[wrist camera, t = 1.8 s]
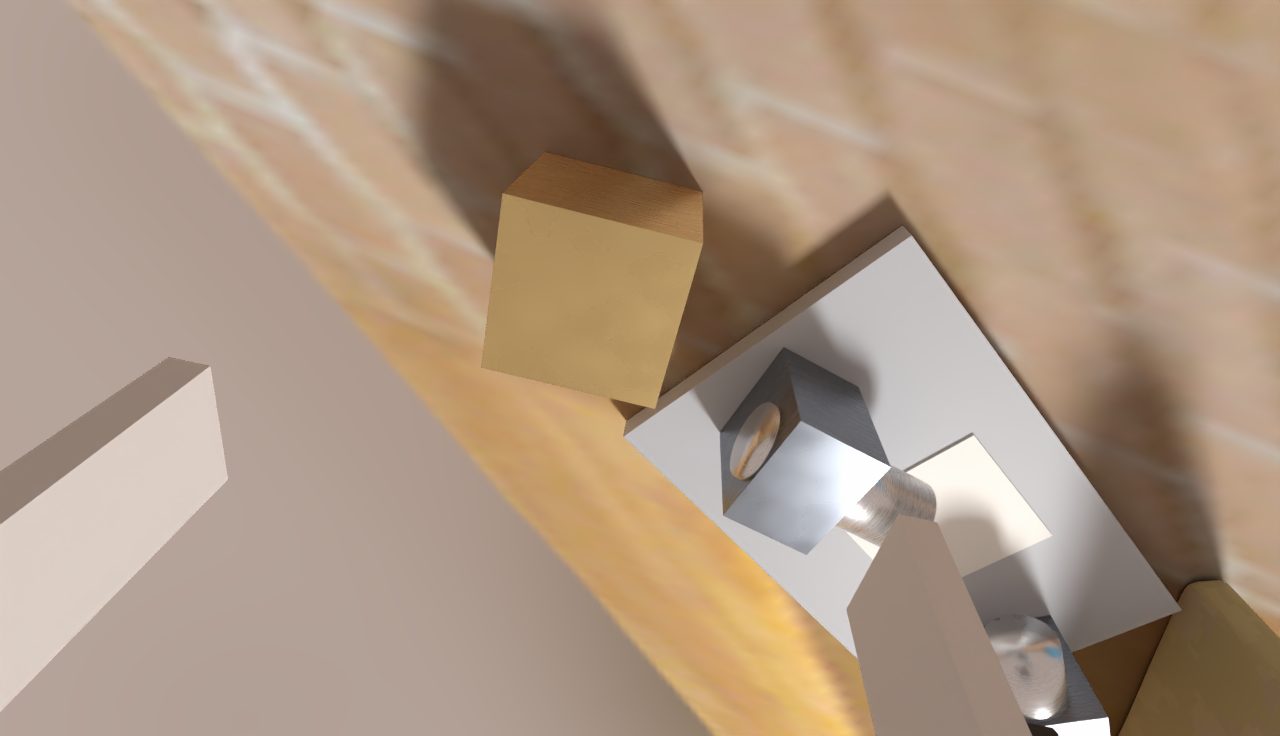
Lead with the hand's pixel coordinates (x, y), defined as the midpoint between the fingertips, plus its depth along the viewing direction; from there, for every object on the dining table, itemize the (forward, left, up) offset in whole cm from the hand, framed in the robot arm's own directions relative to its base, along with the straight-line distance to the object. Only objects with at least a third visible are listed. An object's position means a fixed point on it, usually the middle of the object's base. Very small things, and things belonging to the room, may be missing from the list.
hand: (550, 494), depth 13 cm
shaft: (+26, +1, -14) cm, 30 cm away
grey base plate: (+18, +1, -15) cm, 23 cm away
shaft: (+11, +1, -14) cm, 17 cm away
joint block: (0, -1, -15) cm, 15 cm away
